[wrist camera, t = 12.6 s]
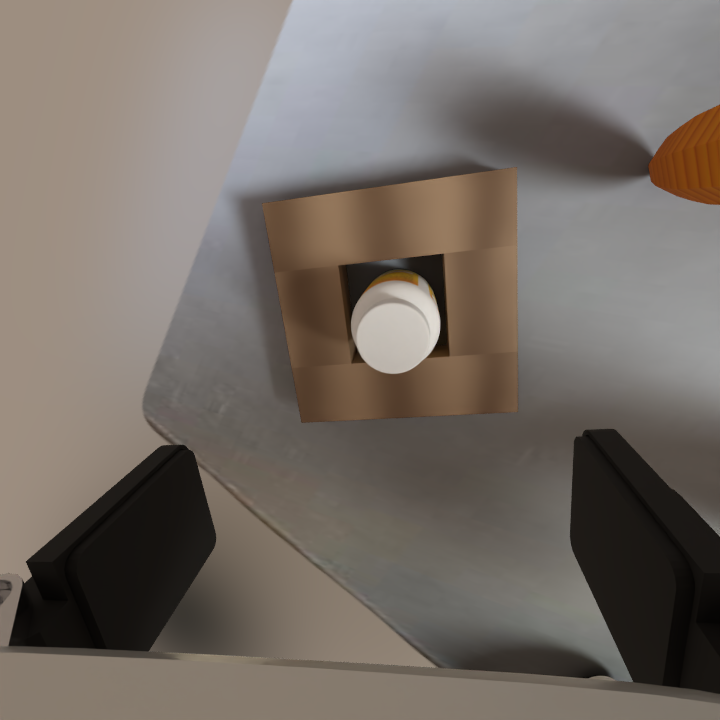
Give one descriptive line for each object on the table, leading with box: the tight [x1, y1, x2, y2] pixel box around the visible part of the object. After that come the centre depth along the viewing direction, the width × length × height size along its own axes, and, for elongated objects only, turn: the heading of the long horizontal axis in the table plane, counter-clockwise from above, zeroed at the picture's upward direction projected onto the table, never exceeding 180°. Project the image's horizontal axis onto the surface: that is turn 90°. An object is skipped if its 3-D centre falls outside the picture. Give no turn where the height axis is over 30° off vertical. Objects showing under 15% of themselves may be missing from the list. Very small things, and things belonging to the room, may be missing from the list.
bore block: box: [262, 167, 518, 423], centre depth 29 cm, size 16×16×3 cm
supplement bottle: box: [351, 269, 440, 374], centre depth 26 cm, size 5×5×10 cm
